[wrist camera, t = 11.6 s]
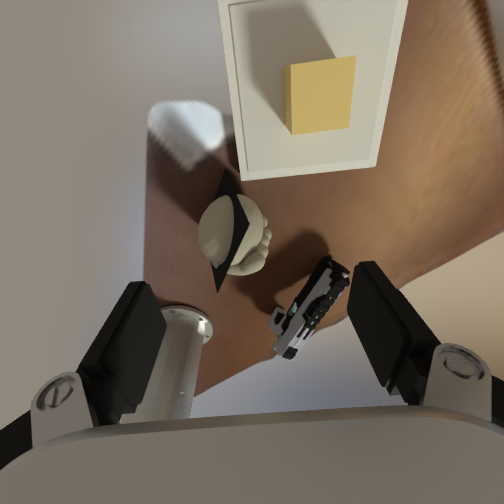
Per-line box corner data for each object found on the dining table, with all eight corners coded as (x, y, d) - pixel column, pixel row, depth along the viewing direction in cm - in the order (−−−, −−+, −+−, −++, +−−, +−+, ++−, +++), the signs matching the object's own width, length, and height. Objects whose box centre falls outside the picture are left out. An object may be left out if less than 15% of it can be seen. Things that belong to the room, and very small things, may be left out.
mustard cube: (332, 120, 25) (348, 127, 21) (285, 126, 25) (291, 135, 21) (337, 59, 22) (356, 55, 18) (283, 67, 22) (290, 64, 18)
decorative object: (272, 183, 33) (247, 237, 39) (204, 162, 29) (185, 226, 34) (311, 236, 25) (271, 296, 30) (221, 218, 20) (193, 292, 25)
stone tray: (368, 162, 30) (376, 167, 28) (241, 175, 31) (241, 181, 29) (402, -30, 20) (417, -41, 19) (218, -2, 21) (215, -10, 19)
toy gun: (324, 250, 43) (357, 277, 33) (274, 325, 47) (290, 368, 38) (314, 244, 42) (345, 270, 32) (264, 321, 47) (277, 364, 37)
